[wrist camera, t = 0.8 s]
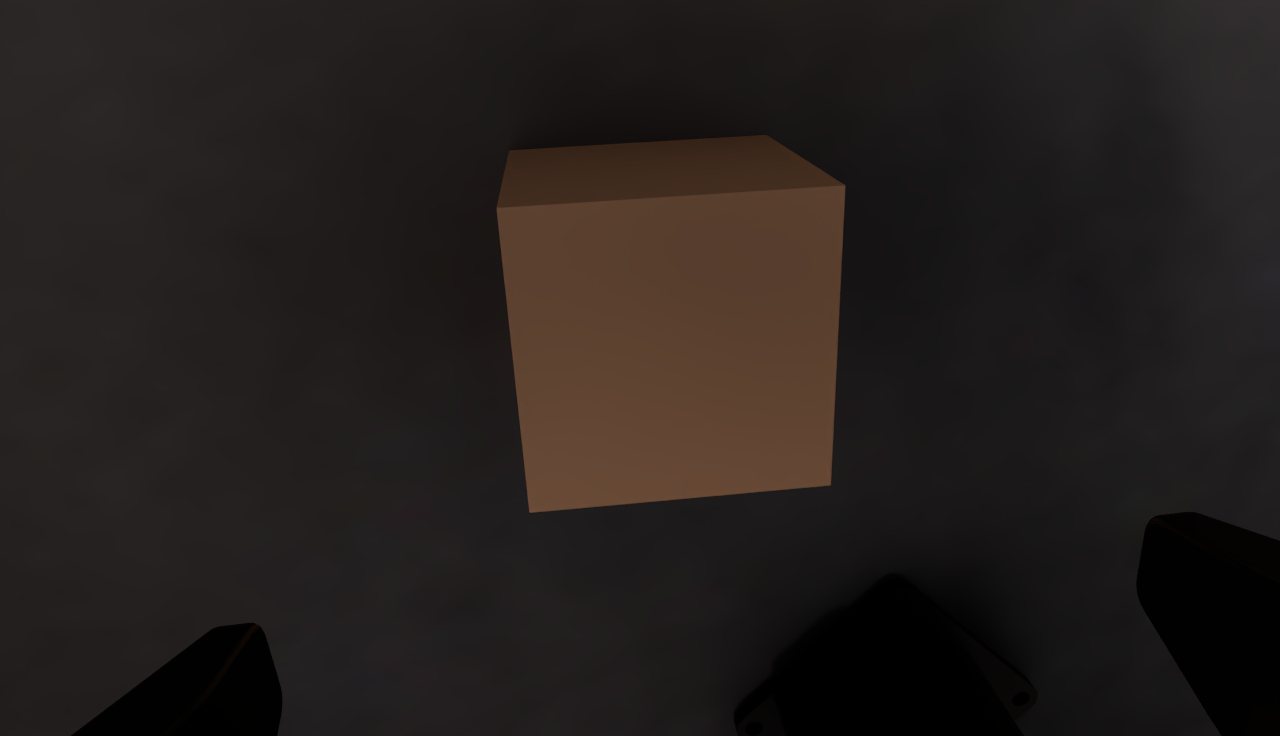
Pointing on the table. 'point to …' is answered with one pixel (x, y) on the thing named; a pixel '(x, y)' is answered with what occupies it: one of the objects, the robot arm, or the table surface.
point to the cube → (671, 318)
